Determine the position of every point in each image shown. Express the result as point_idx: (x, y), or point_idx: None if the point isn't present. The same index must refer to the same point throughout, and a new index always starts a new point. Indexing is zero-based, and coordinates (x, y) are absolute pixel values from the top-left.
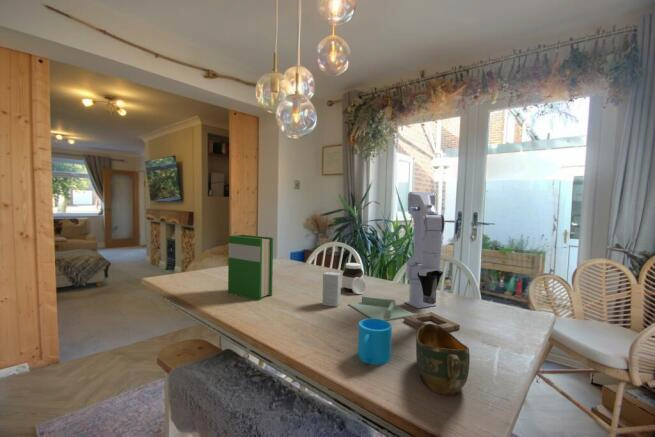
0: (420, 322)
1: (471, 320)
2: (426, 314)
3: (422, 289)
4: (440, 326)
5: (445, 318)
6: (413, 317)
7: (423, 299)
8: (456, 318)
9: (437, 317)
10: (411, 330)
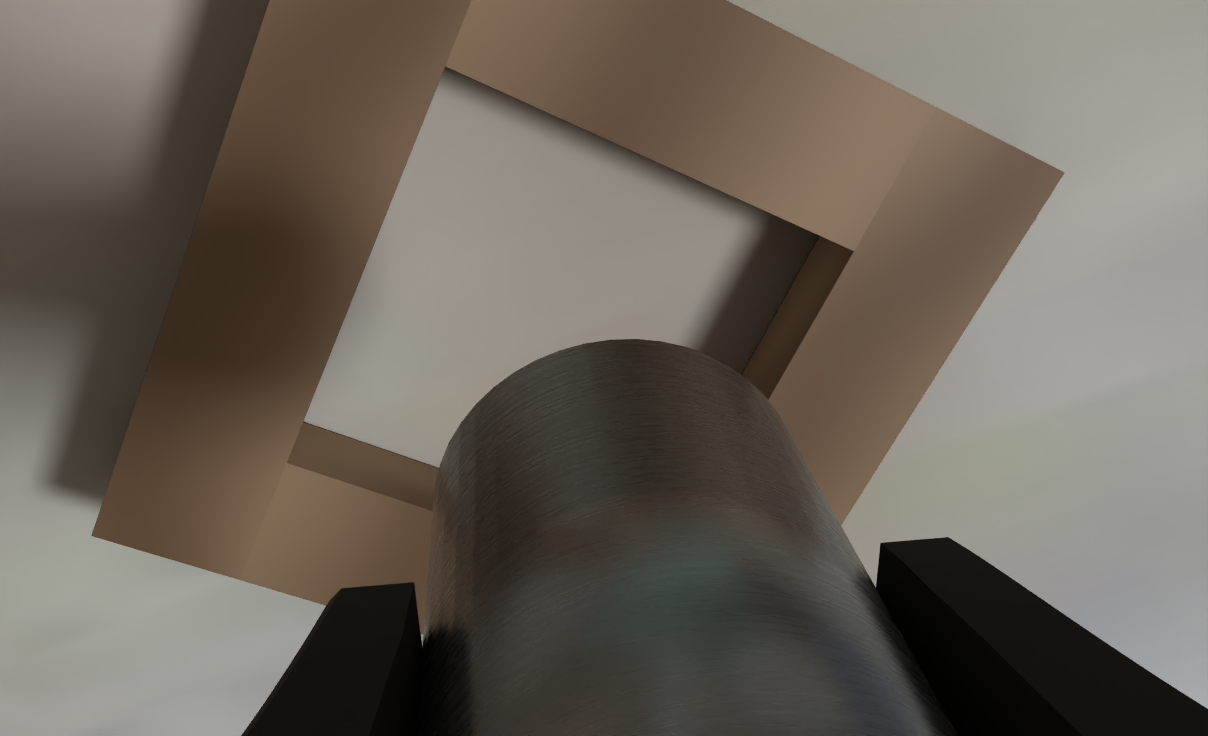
0: (306, 255)
1: (1187, 656)
2: (856, 151)
3: (249, 728)
4: (414, 569)
5: (861, 488)
6: (473, 11)
7: (483, 432)
8: (1162, 491)
9: (820, 375)
10: (37, 170)
